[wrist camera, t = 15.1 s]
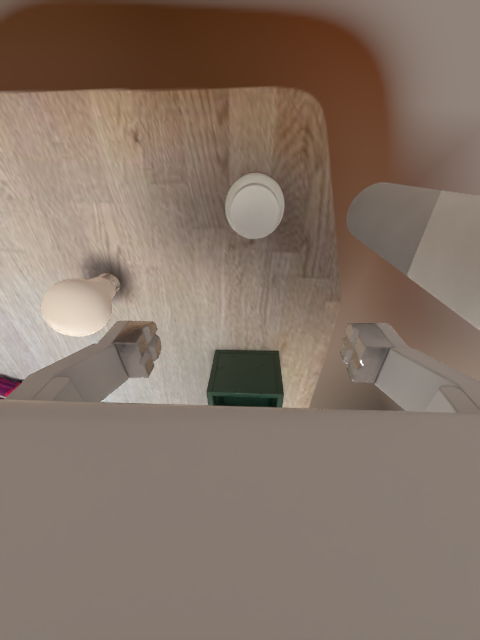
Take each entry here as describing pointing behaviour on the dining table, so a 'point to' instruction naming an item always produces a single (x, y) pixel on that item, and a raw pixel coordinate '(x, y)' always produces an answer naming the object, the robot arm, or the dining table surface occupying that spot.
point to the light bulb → (80, 304)
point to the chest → (245, 379)
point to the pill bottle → (254, 205)
